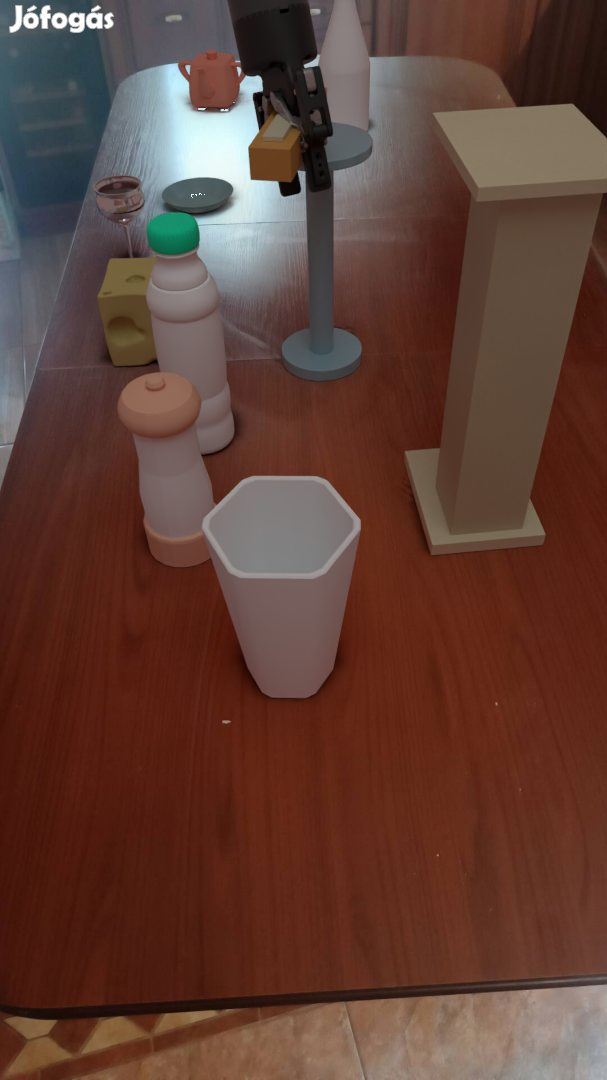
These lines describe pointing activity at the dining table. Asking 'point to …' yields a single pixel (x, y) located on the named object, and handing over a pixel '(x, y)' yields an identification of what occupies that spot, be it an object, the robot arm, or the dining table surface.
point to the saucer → (182, 190)
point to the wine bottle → (346, 67)
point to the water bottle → (189, 323)
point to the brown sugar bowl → (212, 79)
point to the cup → (285, 576)
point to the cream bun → (276, 150)
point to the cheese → (127, 311)
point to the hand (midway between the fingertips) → (305, 193)
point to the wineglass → (120, 201)
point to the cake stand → (326, 273)
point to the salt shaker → (169, 465)
